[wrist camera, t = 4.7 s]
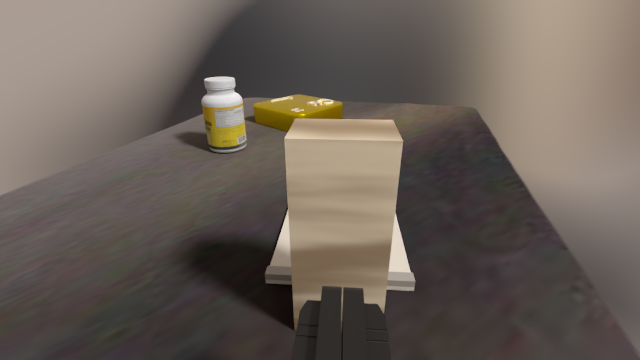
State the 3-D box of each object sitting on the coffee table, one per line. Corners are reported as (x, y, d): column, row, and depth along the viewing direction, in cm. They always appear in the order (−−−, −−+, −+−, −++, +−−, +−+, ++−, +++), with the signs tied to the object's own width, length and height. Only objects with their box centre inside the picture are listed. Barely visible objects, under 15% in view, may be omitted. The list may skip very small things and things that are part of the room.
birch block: (381, 336, 22) (403, 141, 16) (294, 330, 23) (284, 138, 17) (376, 292, 26) (392, 120, 20) (301, 288, 26) (295, 118, 20)
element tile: (299, 111, 82) (298, 91, 80) (346, 121, 73) (346, 100, 71) (251, 123, 72) (249, 101, 70) (298, 137, 63) (298, 112, 61)
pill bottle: (216, 141, 60) (207, 75, 55) (251, 142, 59) (244, 75, 54) (203, 154, 54) (190, 81, 49) (241, 154, 54) (233, 82, 49)
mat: (413, 291, 26) (415, 281, 26) (265, 283, 27) (264, 273, 26) (388, 188, 42) (388, 182, 42) (296, 186, 43) (296, 179, 43)
